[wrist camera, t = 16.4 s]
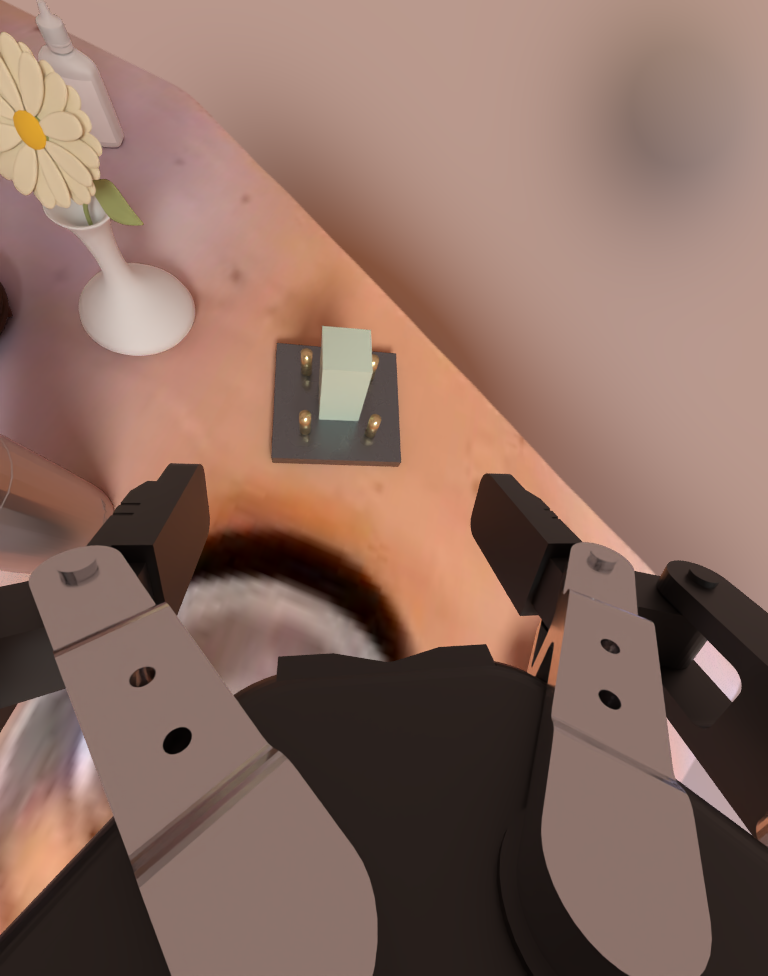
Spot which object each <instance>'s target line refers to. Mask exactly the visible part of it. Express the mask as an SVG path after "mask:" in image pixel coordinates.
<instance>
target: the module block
mask: <svg viewBox="0 0 768 976" xmlns="http://www.w3.org/2000/svg"><path fill="white" fill-rule="evenodd" d="M372 373H373V367H372V345H371V330H364V329H353V328H341V327H329V326H322V340H321V356H320V372H319V419H320V420H345V421H358V420H359V417H360V414H361V410H362V407H363V404H364V400H365V397H366V393H367V390H368V387H369V383H370V380H371V377H372Z"/></svg>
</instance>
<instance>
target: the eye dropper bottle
mask: <svg viewBox="0 0 768 976" xmlns="http://www.w3.org/2000/svg"><path fill="white" fill-rule="evenodd" d="M36 2H37V5H38V8H39V12H40V14H39V15H38V16H37V17H36V23H37V26H38V28H39V30H40V32H41V34H42V36H43V38H44V41H45V43H46V45H44V46H43V47H42V48H41V49H40V51H39V53H38V61H40V60H45V61H47V62H48V63H49V64H50V65H51V66H52V68H53V69H54V71H55V72H56V73H57V74H59V75H60V76H61V78H62V79H63V80H64V82H65V84H66V85H70V86H72V87H73V88H74V89H75V90H76V91H77V93H78V94H79V96H80V99H81V109H80V110H82V111H84V112H85V113H86V114H87V115H88V117H89V119H90V121H91V124H92V129H91V132H90V134H92V135H93V136H95V137H96V138H97V139H98V141H99V142H100V144H101V147H110V148H114V147H119V146H120V145H121V143H122V141H123V138H124V133H123V131H122V128H121V125H120V123H119V120H118V118H117V115H116V113H115V110H114V107H113V105H112V102H111V100H110V97H109V95H108V92H107V90H106V87H105V84H104V82H103V80H102V77H101V75H100V72H99V70H98V68H97V66H96V64H95V63H94V62H93V61H92V60H91V59H90V58H89V57H88V56H86V55H85V54H84V53H82V52H81V51H79V50H78V49H76V48H74V47H73V45H72V42H71V40H70V38H69V35H68V33H67V30H66V28H65V26H64V23H63V21H62V19H61V18H60V17H58V16H57V15H55V14H52V13H51V12H50V10H49V8H48V6H47V5H46V3H45V2H44V0H36Z"/></svg>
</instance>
